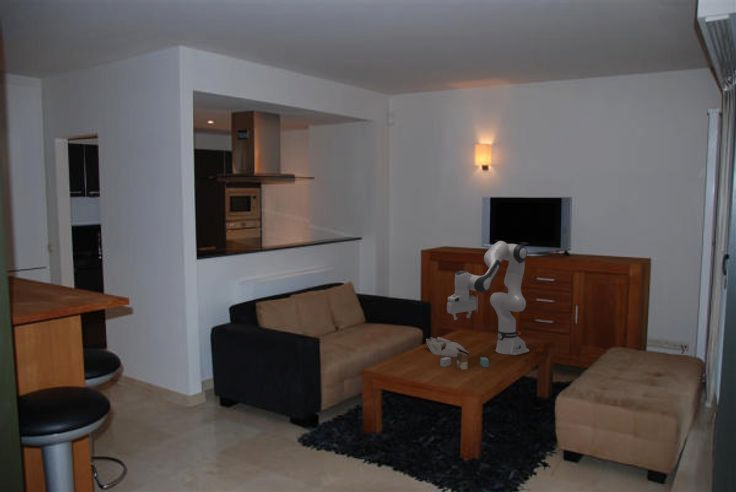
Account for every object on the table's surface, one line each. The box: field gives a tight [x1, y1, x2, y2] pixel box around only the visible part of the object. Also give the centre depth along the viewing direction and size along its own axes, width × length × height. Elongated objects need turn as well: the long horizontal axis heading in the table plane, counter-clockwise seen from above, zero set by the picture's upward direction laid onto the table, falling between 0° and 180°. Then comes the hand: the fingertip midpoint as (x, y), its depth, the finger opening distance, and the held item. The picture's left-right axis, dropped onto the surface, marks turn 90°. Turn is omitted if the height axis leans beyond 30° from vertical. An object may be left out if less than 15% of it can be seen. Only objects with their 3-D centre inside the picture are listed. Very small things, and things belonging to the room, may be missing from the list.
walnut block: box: [456, 351, 469, 363], centre depth 371 cm, size 6×4×4 cm, turn 26°
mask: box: [425, 336, 470, 358], centre depth 407 cm, size 20×9×30 cm
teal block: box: [479, 356, 490, 368], centre depth 376 cm, size 6×4×4 cm, turn 6°
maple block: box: [456, 359, 468, 371], centre depth 371 cm, size 6×4×4 cm, turn 26°
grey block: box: [439, 356, 452, 368], centre depth 376 cm, size 6×4×4 cm, turn 136°
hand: (462, 318), depth 381 cm, fingers open, 8 cm apart
